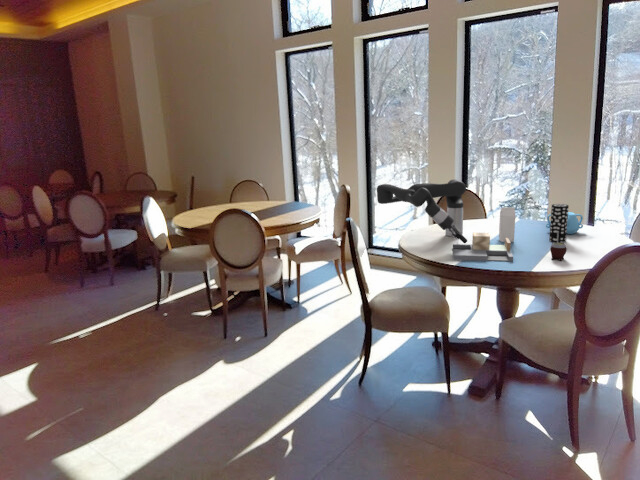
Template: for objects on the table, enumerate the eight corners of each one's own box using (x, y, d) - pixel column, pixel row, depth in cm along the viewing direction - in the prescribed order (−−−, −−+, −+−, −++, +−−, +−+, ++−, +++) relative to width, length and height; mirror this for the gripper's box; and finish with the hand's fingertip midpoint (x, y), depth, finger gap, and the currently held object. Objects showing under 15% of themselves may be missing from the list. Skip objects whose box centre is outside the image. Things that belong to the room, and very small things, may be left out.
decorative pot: (562, 228, 305) (563, 206, 301) (585, 233, 290) (587, 210, 287) (542, 231, 298) (543, 209, 295) (565, 237, 284) (566, 213, 281)
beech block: (473, 249, 257) (473, 236, 256) (472, 245, 265) (472, 232, 263) (489, 249, 256) (490, 236, 254) (488, 245, 263) (488, 232, 261)
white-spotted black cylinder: (546, 239, 280) (548, 204, 275) (560, 238, 281) (563, 203, 276) (554, 243, 272) (556, 207, 267) (568, 242, 273) (571, 206, 268)
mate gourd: (560, 256, 247) (562, 227, 243) (569, 261, 239) (572, 230, 236) (546, 257, 246) (548, 228, 242) (555, 262, 239) (557, 231, 235)
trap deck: (453, 260, 249) (453, 247, 248) (452, 248, 270) (453, 236, 268) (512, 261, 242) (513, 248, 241) (507, 249, 263) (508, 237, 262)
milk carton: (514, 241, 278) (515, 208, 273) (500, 241, 279) (502, 208, 275) (511, 238, 285) (513, 206, 280) (498, 238, 286) (500, 206, 282)
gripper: (437, 221, 269) (460, 243, 269) (437, 226, 256) (461, 250, 256) (447, 211, 266) (471, 234, 266) (448, 216, 254) (472, 240, 254)
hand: (466, 242), depth 261 cm, fingers closed
